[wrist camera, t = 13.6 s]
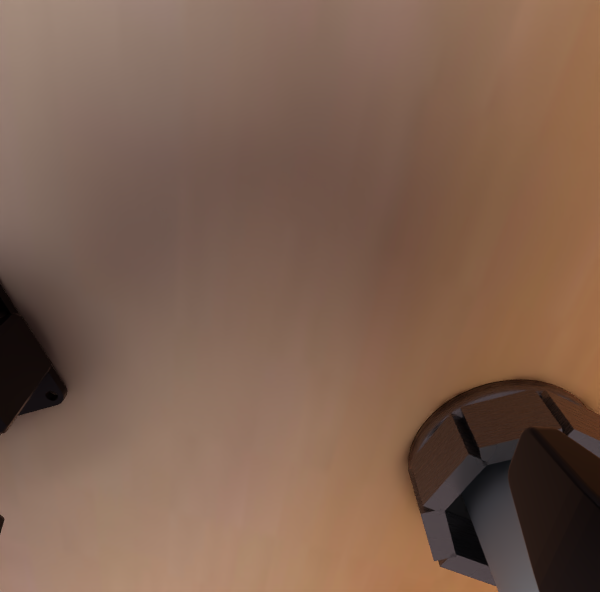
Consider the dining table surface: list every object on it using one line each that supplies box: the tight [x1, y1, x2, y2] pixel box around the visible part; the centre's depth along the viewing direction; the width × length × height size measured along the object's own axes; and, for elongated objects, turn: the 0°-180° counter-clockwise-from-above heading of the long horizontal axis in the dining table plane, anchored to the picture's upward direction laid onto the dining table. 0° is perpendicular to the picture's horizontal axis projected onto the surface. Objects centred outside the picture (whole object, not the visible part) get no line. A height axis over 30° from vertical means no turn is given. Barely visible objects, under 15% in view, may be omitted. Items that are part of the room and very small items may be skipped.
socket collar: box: [408, 380, 600, 586], centre depth 24 cm, size 9×9×4 cm
